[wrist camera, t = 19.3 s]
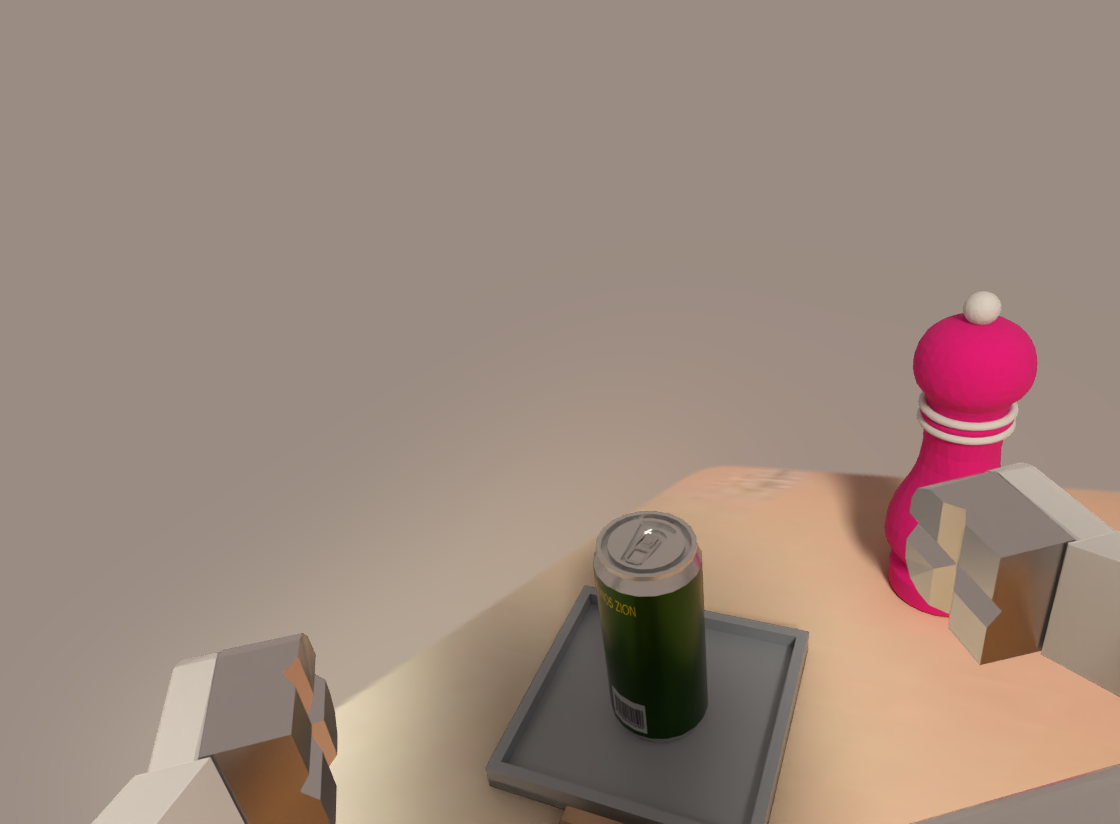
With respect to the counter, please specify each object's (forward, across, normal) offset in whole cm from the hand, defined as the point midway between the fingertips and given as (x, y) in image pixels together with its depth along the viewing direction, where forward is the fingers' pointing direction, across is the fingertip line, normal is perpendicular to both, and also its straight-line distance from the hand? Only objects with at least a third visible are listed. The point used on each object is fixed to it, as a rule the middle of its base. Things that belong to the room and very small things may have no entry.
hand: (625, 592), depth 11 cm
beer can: (+23, -6, +32) cm, 40 cm away
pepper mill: (+27, -26, +32) cm, 50 cm away
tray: (+23, -6, +32) cm, 40 cm away
